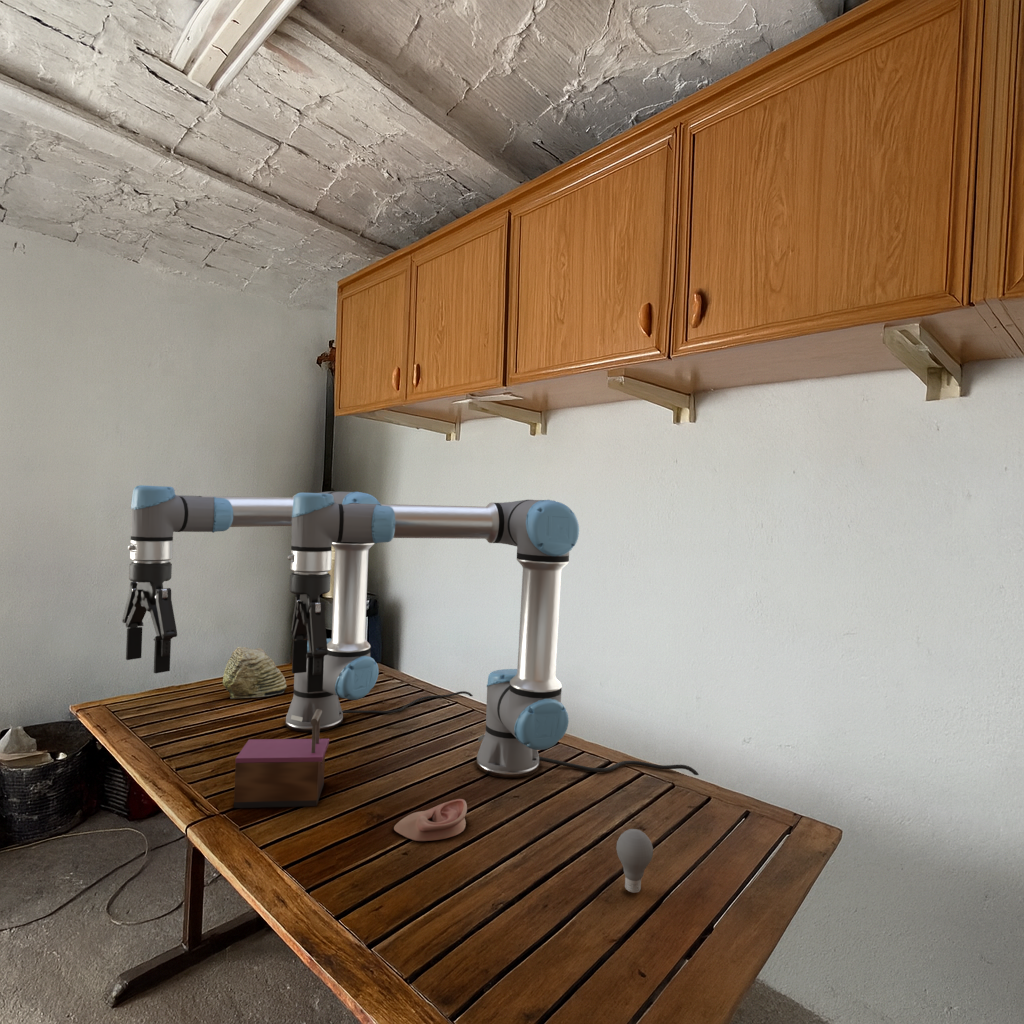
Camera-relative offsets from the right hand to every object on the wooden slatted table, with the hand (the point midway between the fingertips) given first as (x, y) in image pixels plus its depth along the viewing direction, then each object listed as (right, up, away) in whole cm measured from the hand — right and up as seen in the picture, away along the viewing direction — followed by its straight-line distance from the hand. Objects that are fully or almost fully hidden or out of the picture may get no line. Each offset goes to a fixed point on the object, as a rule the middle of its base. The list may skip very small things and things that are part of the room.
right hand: (306, 681), depth 123 cm
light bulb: (+60, -31, -17) cm, 69 cm away
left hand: (-35, +2, +6) cm, 35 cm away
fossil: (-41, -24, +75) cm, 89 cm away
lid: (-8, -18, +11) cm, 22 cm away
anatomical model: (+24, -29, 0) cm, 37 cm away
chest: (-9, -27, +11) cm, 30 cm away
